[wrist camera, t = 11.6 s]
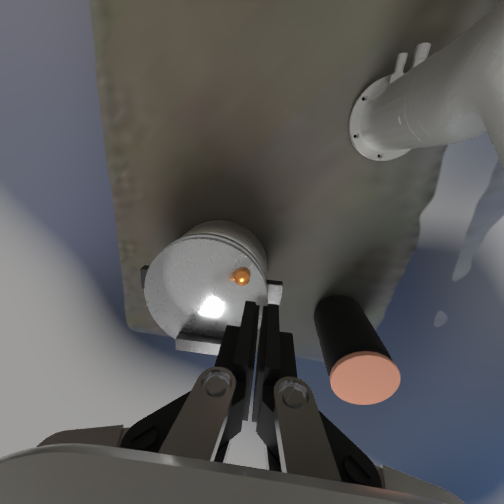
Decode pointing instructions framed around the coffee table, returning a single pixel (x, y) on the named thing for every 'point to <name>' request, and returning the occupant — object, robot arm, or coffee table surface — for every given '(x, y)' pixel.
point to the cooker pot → (240, 239)
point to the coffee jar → (354, 353)
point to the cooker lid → (202, 291)
